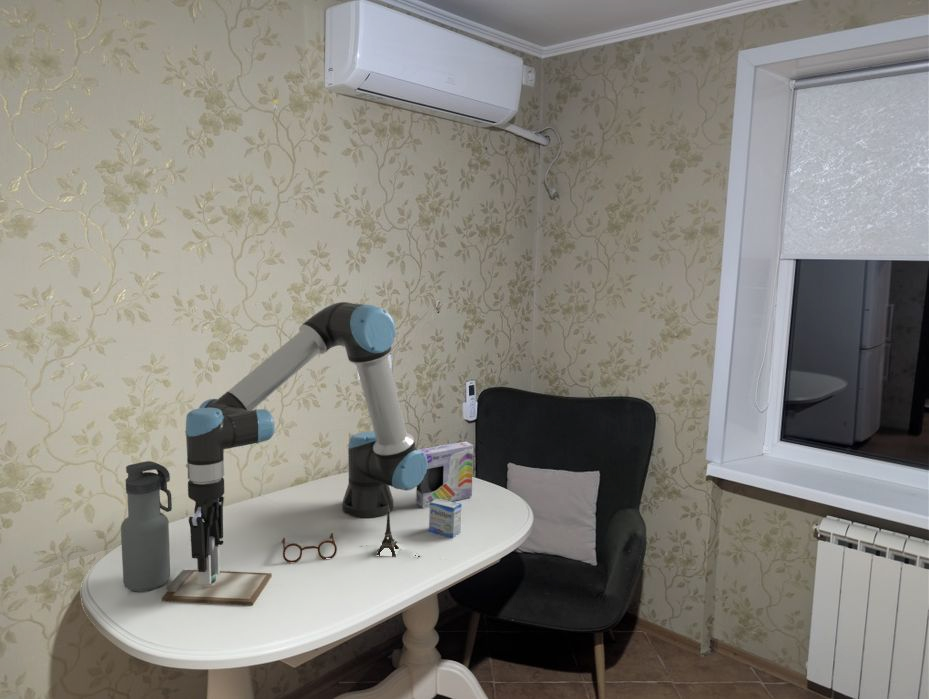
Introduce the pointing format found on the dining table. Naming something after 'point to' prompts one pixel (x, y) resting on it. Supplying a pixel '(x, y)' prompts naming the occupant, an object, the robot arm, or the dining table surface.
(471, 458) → the cake pan box
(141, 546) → the water bottle
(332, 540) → the glasses
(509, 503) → the dining table surface
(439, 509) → the medicine box
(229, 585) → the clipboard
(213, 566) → the marker
